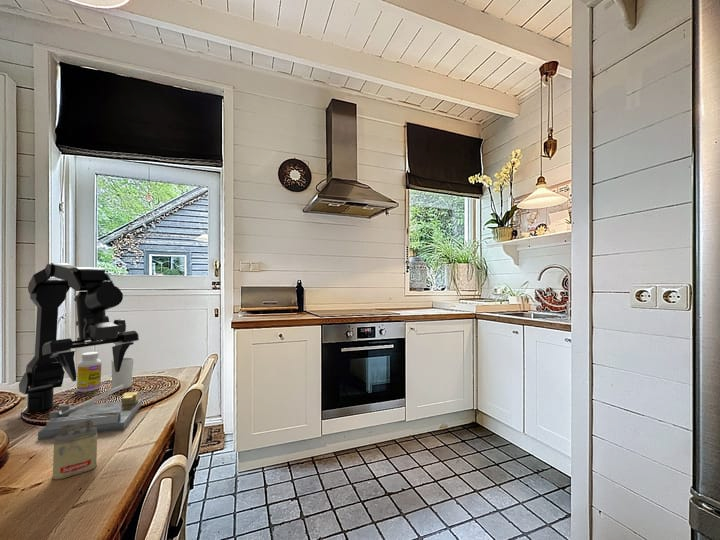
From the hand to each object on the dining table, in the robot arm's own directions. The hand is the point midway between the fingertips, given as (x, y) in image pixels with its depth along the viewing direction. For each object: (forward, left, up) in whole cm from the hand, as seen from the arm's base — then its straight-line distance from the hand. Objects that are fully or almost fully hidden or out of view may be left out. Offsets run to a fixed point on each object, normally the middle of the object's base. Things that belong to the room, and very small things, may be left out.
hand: (97, 376), depth 85 cm
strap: (-10, -4, -10) cm, 15 cm away
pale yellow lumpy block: (-18, +3, -13) cm, 22 cm away
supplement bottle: (-44, -16, -16) cm, 50 cm away
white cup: (-44, -6, -16) cm, 47 cm away
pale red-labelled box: (+16, +2, -16) cm, 22 cm away
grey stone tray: (-12, -4, -15) cm, 20 cm away
